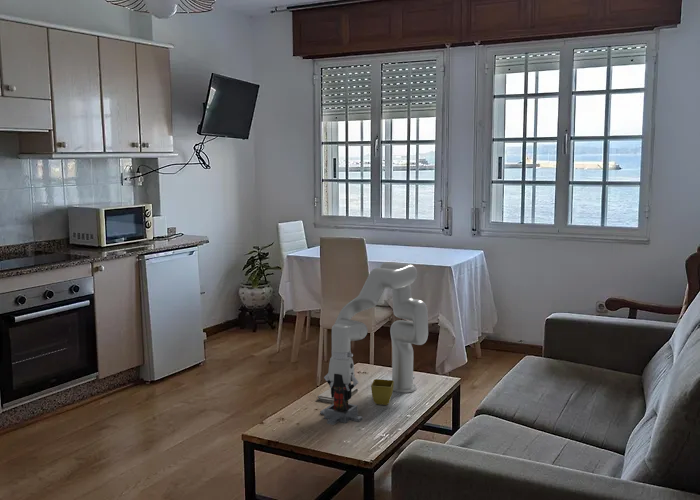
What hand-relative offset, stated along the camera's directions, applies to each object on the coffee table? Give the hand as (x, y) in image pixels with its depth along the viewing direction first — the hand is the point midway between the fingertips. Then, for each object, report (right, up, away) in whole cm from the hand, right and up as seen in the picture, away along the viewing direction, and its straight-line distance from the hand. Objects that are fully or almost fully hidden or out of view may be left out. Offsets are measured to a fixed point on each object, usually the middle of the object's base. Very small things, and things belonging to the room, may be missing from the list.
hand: (341, 397), depth 269 cm
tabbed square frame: (0, -8, +1) cm, 8 cm away
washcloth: (-2, -6, +25) cm, 25 cm away
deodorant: (0, -5, +1) cm, 5 cm away
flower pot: (+18, -6, +16) cm, 25 cm away
